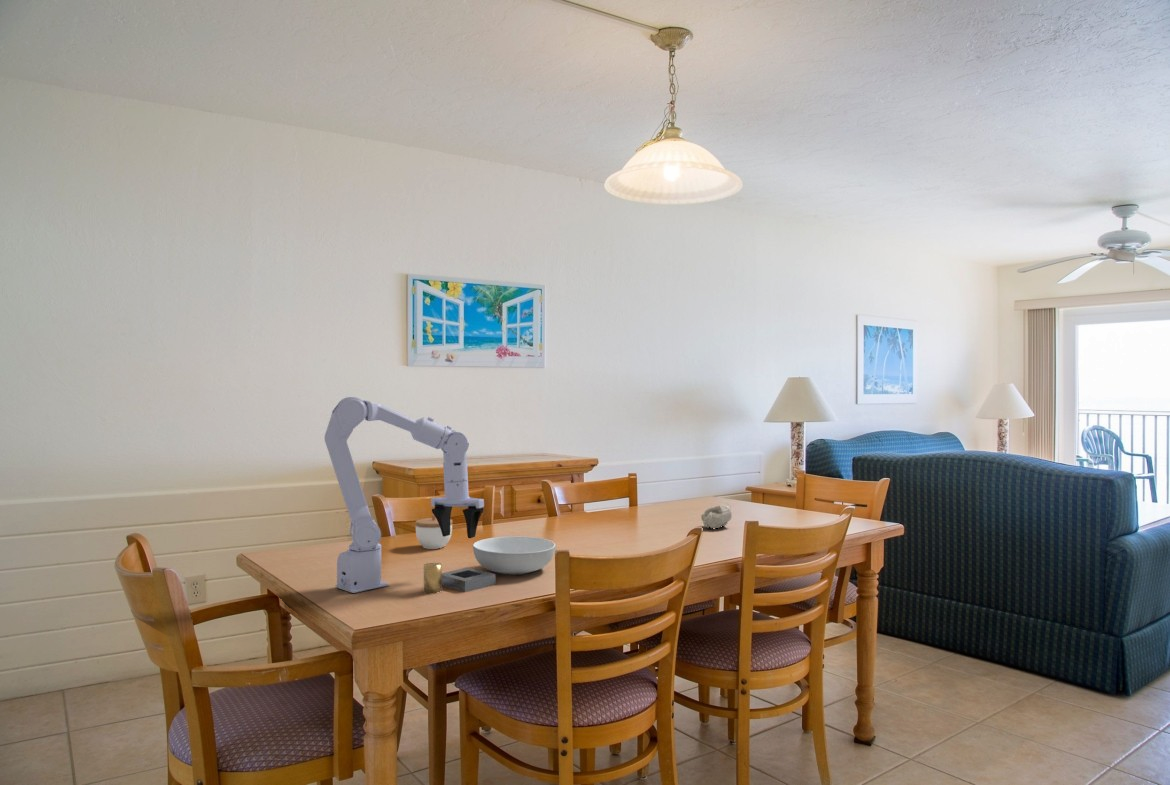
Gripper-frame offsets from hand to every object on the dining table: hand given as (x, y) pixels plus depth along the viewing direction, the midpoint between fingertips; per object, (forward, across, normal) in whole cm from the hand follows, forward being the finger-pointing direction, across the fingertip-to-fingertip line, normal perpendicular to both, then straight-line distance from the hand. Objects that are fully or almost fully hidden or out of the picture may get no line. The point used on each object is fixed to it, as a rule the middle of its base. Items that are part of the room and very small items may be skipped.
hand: (458, 536), depth 181 cm
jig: (+10, -5, +4) cm, 12 cm away
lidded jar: (+10, +30, -26) cm, 41 cm away
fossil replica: (+15, -33, -96) cm, 102 cm away
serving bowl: (+11, -7, -13) cm, 18 cm away
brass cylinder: (+10, -2, +13) cm, 16 cm away
